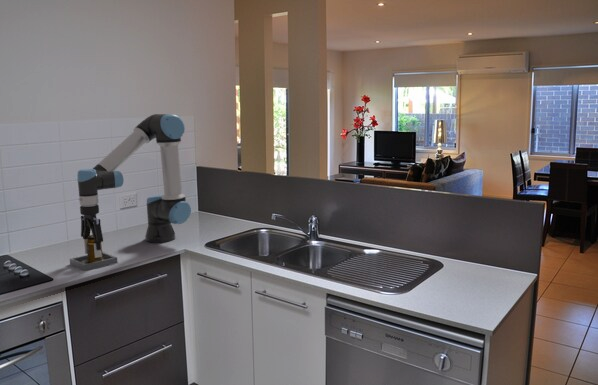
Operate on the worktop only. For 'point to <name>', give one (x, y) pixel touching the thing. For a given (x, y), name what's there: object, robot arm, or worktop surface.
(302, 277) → the worktop surface
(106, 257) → the tray
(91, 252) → the condiment
